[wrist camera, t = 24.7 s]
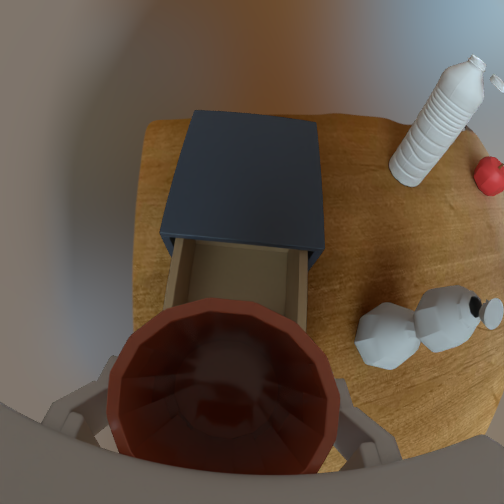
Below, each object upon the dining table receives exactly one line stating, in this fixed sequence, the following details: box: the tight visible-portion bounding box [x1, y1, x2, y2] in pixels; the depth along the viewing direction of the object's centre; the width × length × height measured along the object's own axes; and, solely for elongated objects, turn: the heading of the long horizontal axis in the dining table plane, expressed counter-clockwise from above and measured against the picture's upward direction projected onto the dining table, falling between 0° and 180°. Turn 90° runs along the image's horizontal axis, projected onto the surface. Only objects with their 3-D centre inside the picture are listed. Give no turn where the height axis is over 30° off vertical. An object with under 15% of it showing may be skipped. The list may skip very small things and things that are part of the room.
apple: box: [474, 157, 504, 196], centre depth 40 cm, size 8×8×8 cm
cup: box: [106, 297, 340, 475], centre depth 11 cm, size 6×6×9 cm
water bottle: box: [389, 54, 504, 187], centre depth 30 cm, size 9×6×25 cm
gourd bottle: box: [354, 285, 503, 370], centre depth 22 cm, size 8×8×20 cm
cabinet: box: [160, 110, 325, 271], centre depth 32 cm, size 17×15×10 cm
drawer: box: [163, 238, 308, 332], centre depth 26 cm, size 20×13×8 cm, turn 176°
